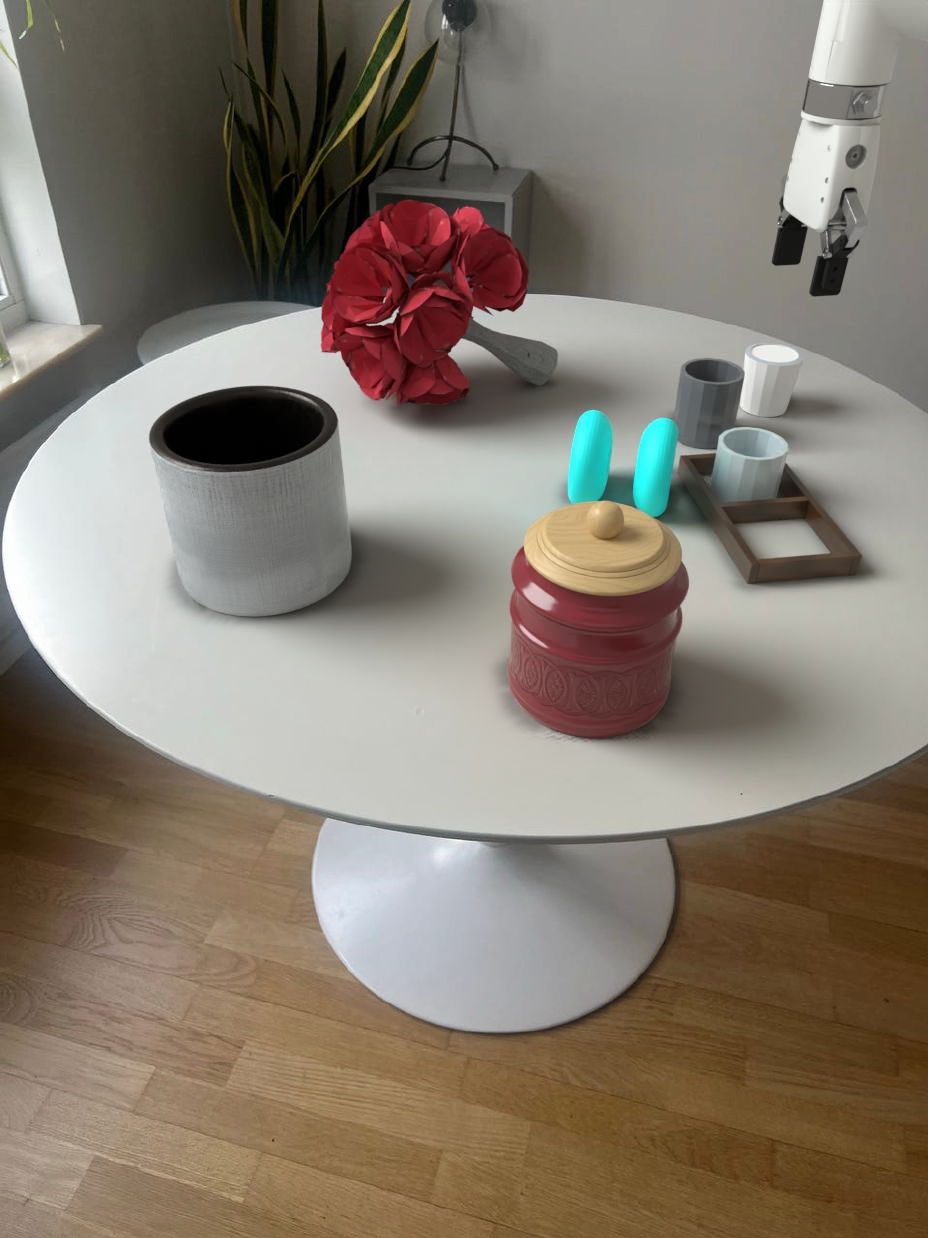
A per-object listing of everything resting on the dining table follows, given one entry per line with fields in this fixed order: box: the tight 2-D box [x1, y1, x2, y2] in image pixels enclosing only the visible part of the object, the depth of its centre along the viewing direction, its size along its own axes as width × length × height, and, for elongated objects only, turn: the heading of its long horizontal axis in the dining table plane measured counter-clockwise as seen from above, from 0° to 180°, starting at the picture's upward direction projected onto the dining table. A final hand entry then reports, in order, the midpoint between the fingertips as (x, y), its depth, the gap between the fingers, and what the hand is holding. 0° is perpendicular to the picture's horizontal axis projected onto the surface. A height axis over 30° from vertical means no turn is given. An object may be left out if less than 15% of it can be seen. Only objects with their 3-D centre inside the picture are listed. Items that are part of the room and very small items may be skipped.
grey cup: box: [672, 357, 745, 450], centre depth 107 cm, size 7×7×8 cm
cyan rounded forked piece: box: [567, 409, 678, 518], centre depth 95 cm, size 10×10×10 cm
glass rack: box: [677, 452, 863, 585], centre depth 93 cm, size 11×20×3 cm, turn 8°
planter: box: [148, 385, 353, 618], centre depth 84 cm, size 16×16×16 cm
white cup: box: [739, 342, 805, 418], centre depth 114 cm, size 7×7×7 cm
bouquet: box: [320, 199, 559, 409], centre depth 113 cm, size 22×24×30 cm
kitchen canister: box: [506, 500, 690, 739], centre depth 70 cm, size 13×13×18 cm
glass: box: [708, 426, 789, 503], centre depth 96 cm, size 7×7×7 cm
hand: (803, 278), depth 101 cm, fingers open, 9 cm apart
